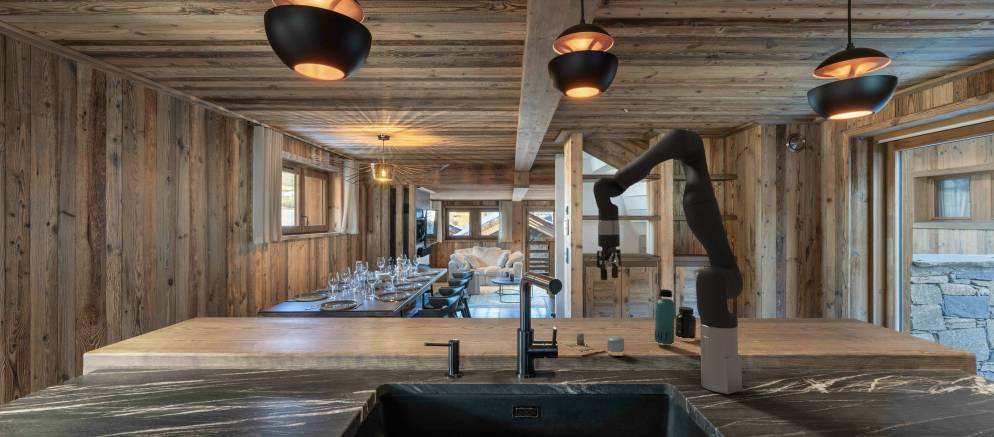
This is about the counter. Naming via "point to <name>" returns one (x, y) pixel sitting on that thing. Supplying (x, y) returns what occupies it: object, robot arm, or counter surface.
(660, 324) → the beverage bottle
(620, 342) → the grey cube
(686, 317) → the supplement bottle
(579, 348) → the board
